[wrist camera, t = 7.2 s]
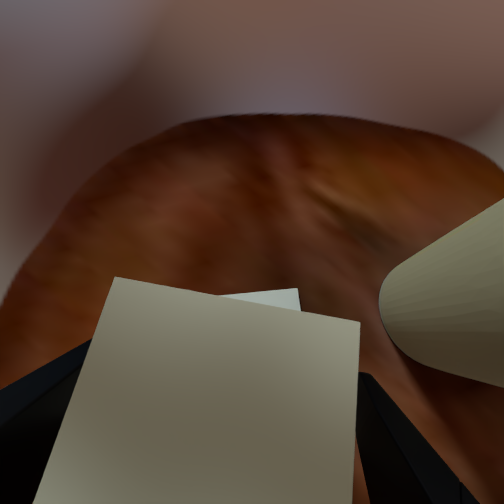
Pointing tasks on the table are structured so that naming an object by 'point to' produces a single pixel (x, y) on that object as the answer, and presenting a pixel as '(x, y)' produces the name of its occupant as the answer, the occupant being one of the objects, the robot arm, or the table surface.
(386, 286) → the coffee cup
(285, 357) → the letter block
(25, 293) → the table surface
